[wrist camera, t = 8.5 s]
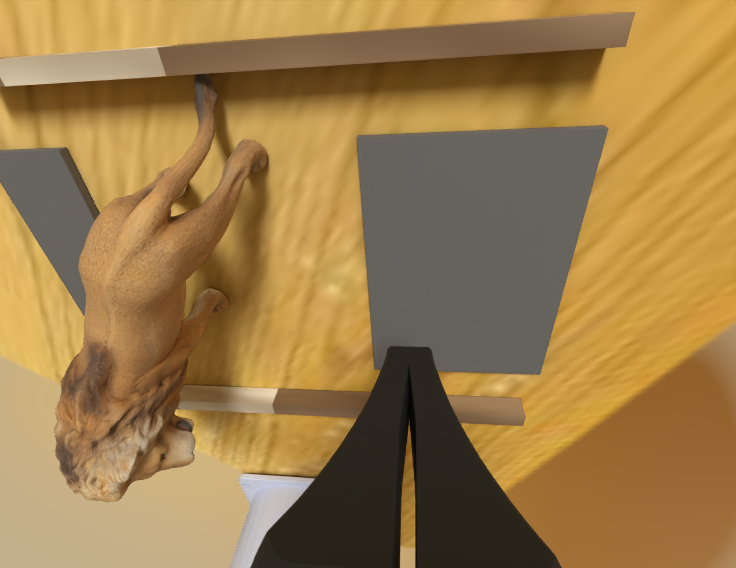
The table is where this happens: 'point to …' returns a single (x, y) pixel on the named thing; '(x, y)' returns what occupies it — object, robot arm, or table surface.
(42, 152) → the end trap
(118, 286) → the lion figurine
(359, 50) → the wooden sticks
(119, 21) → the table surface
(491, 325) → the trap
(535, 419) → the table surface
